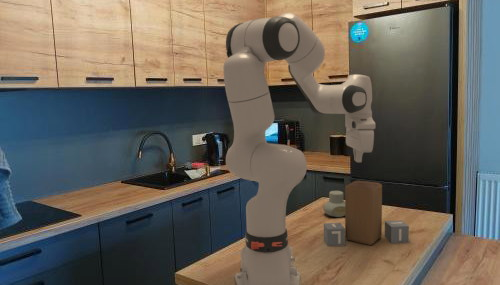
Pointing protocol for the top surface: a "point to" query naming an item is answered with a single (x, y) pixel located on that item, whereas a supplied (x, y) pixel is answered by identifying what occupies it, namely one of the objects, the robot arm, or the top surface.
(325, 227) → the cube seven
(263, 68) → the robot arm
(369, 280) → the top surface
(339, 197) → the air freshener
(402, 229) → the cube one
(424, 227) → the top surface
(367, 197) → the wooden block
